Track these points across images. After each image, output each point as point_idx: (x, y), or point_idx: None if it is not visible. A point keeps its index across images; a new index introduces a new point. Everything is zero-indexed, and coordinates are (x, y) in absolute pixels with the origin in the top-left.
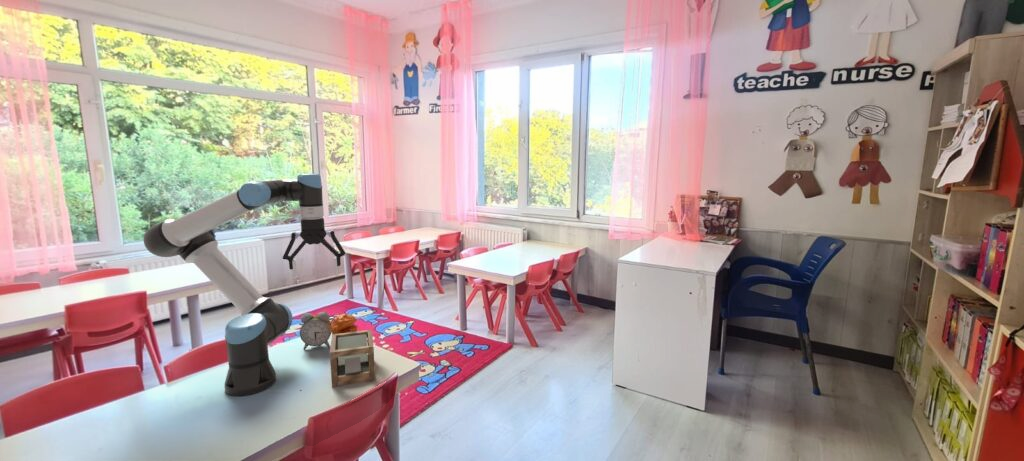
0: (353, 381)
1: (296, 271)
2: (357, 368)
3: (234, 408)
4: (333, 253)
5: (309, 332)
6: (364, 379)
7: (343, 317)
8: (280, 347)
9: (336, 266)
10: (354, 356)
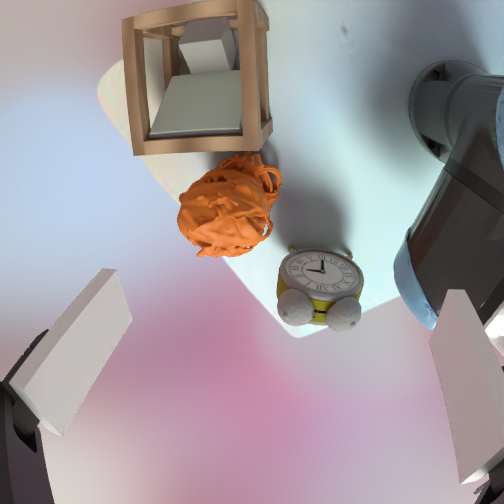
0: None
1: (440, 376)
2: (194, 24)
3: (467, 20)
4: (2, 438)
5: (338, 275)
6: None
7: (212, 216)
8: None
9: (61, 321)
10: (202, 84)
